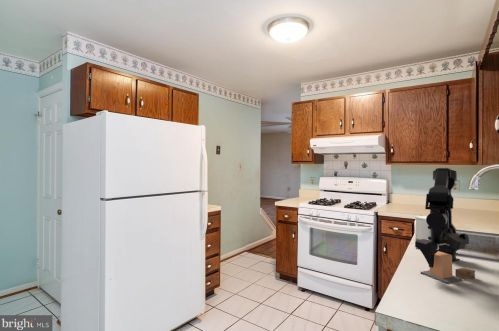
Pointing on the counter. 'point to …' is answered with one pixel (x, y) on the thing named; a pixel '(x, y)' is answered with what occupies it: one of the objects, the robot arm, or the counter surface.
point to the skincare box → (422, 228)
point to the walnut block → (465, 273)
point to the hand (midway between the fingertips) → (440, 265)
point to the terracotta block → (442, 265)
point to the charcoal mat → (445, 280)
